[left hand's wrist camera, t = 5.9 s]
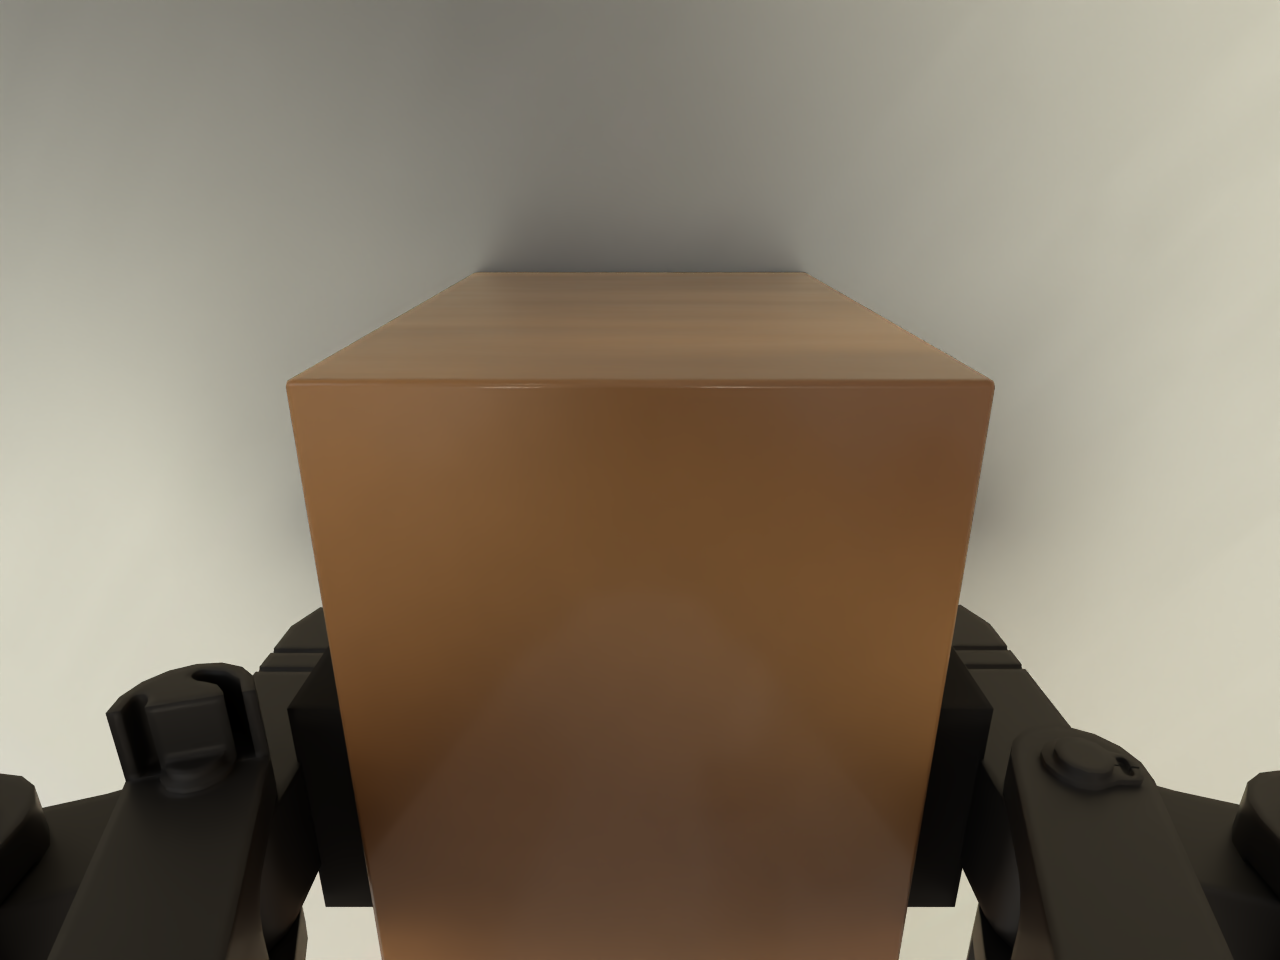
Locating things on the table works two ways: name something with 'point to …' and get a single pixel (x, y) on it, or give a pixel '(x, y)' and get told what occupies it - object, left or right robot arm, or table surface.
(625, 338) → the beam
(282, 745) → the left robot arm
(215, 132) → the table surface
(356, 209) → the table surface
